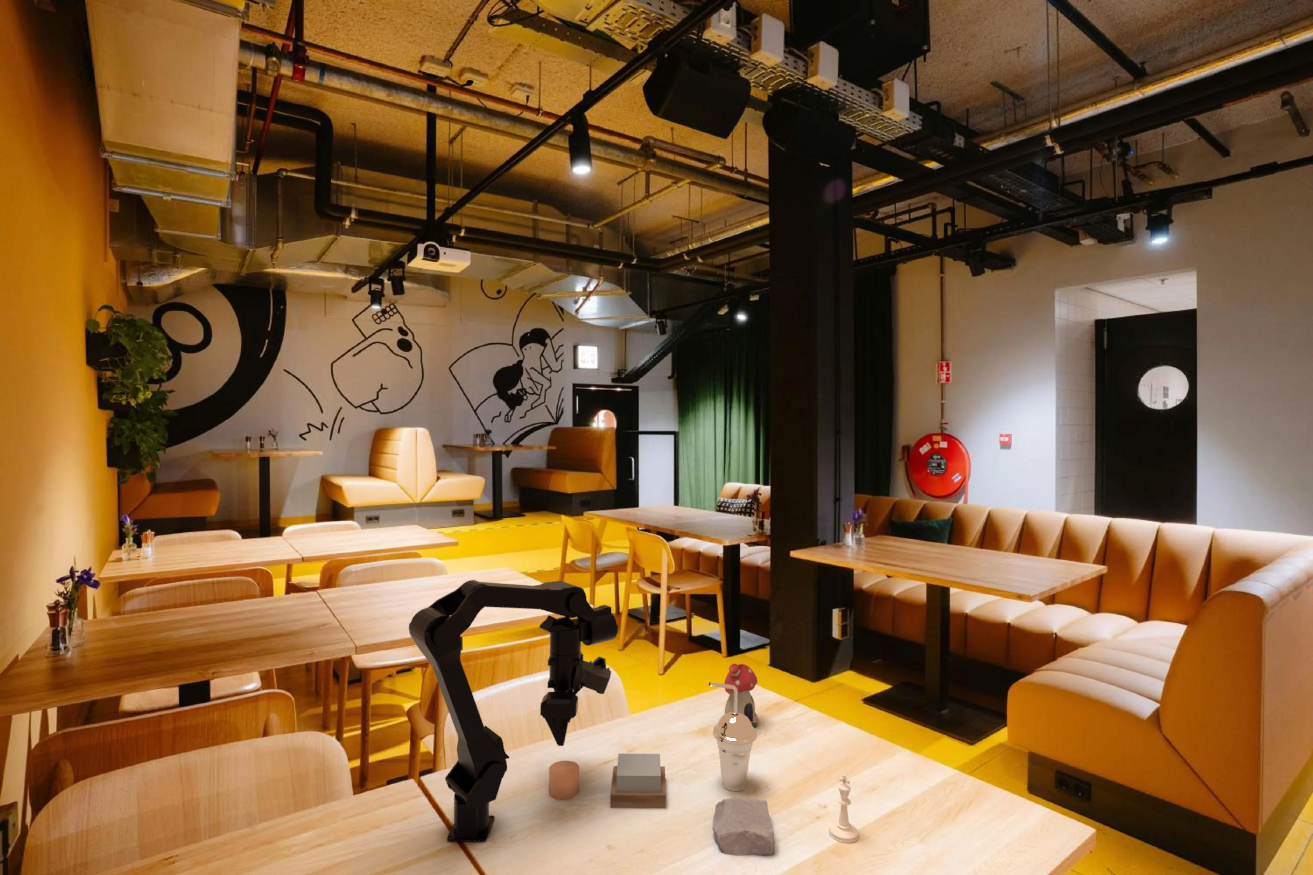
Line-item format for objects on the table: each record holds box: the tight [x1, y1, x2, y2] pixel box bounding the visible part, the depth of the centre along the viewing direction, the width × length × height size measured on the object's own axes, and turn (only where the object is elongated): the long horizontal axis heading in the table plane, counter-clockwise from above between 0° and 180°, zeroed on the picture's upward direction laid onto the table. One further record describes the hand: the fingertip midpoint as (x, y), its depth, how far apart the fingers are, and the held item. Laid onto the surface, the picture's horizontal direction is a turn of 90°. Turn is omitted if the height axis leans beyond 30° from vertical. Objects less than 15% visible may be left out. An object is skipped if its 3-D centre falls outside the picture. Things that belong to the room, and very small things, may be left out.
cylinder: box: [548, 760, 580, 801], centre depth 123 cm, size 6×6×4 cm
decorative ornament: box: [723, 663, 759, 729], centre depth 151 cm, size 9×7×15 cm
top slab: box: [616, 753, 661, 792], centre depth 123 cm, size 8×8×3 cm
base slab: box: [609, 765, 667, 809], centre depth 123 cm, size 10×10×3 cm
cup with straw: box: [708, 681, 758, 792], centre depth 126 cm, size 8×9×20 cm
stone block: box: [711, 796, 775, 857], centre depth 111 cm, size 12×5×10 cm
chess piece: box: [828, 774, 860, 844], centre depth 111 cm, size 5×5×10 cm
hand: (564, 733), depth 123 cm, fingers open, 9 cm apart
